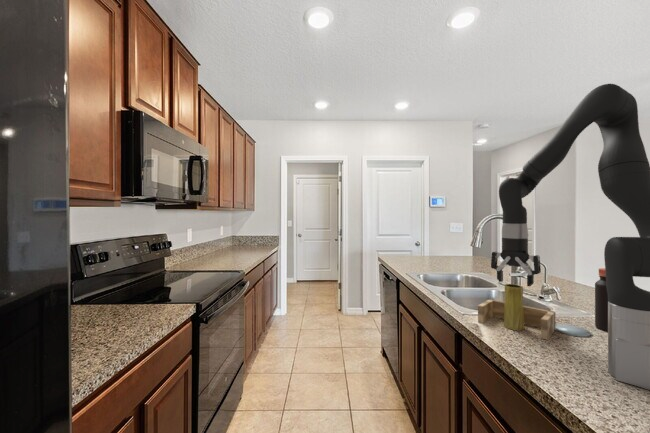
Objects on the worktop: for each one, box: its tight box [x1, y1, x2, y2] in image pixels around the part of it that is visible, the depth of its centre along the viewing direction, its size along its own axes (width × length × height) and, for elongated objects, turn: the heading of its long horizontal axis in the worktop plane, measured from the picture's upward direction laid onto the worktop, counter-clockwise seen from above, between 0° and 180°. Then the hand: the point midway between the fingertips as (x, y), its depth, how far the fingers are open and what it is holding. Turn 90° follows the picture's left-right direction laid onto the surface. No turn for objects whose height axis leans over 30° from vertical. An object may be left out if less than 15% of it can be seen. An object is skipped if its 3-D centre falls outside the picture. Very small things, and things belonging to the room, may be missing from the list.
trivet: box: [555, 323, 591, 338], centre depth 96 cm, size 9×9×1 cm
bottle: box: [594, 267, 608, 333], centre depth 97 cm, size 7×7×20 cm
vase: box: [502, 283, 525, 331], centre depth 100 cm, size 6×6×14 cm
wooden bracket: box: [477, 298, 556, 340], centre depth 101 cm, size 12×20×6 cm, turn 42°
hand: (514, 283), depth 100 cm, fingers open, 8 cm apart
